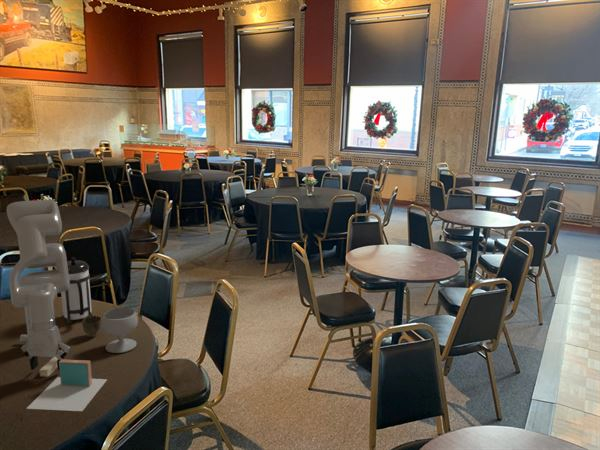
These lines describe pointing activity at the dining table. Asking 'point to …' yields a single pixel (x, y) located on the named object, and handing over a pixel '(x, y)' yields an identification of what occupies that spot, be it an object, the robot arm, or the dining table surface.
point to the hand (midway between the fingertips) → (47, 368)
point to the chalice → (120, 328)
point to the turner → (49, 367)
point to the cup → (91, 325)
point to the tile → (75, 373)
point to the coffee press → (77, 292)
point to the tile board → (66, 396)
